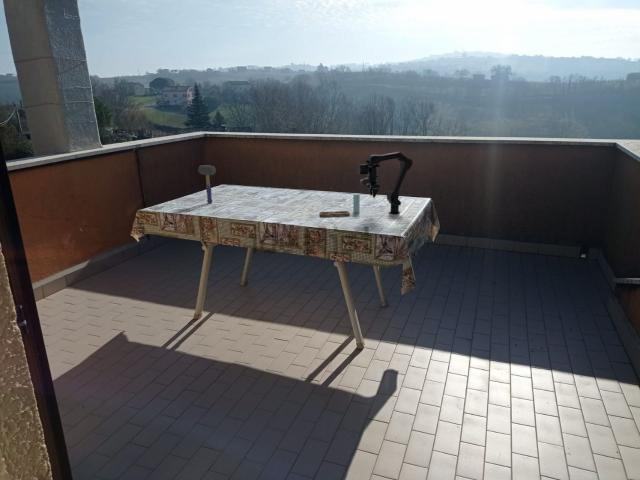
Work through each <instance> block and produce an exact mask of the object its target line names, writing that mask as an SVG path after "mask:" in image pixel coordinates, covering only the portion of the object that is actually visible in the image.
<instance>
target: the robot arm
mask: <svg viewBox="0 0 640 480" xmlns="http://www.w3.org/2000/svg"><path fill="white" fill-rule="evenodd" d="M395 159H397V160H398V161H399V162H400V164H399V168H400V169H399V171H398V175H397V177H396V179H395V182H394V184H393V187H392V189H391V190H388V192H387V194H386V195H385V196H386V201H388V203H389V204H390V211H389V212H388V214H392V215H398V214H400V213H401V211H400V210H399V209H400V206H401V205H402V201H401V200H400V199H399V197H400V189H401V187H402V184H403V182H404V180H405V177H406V175H407V173H408V171H409V170H410V169H411V167H412V166H413V164H414V163H413V162H414V161H413V160H412V158H409V157H407V156H406V155H405V154H403V153H402V152H400V151H395V152H392V153H391V152H389V153H386V154H369V155H368V156H367V160H366V161H365V163H363V164H358V166H357V170H356V171H357V174H358V175H359V176H361V175H367V177H364V178H362V179H360V180H359V182H360V184H361V186H367V187H368V191H369V195H370V196H372V199H375V198H376V196H377V194H378V192H379V190H380V189H381V185H380V184H379V183H378V177H379V176H378V168H380V167H381V165H380V164H379V163H381V162H384V161H389V160H395Z"/></svg>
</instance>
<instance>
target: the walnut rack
mask: <svg viewBox="0 0 640 480" xmlns="http://www.w3.org/2000/svg"><path fill="white" fill-rule="evenodd" d="M334 211H335V213H331V214H328V213H329V211H319V217H320V218H331V217H332V218H334V217H350V215H351V214H350V211H349V210H337V211H336V210H334Z"/></svg>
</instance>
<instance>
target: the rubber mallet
mask: <svg viewBox="0 0 640 480" xmlns="http://www.w3.org/2000/svg"><path fill="white" fill-rule="evenodd" d="M197 171H198V173H199V174H200V175H203V176H204V175H205V182H206V186H205V188H206V196H207V197H206V198H207V200H206V201H207V203H208V204H212V203H213V198H212V197H213V196H212V187H211V183H210V182H211V181H210V176H213V175H215V174H216V172H217V169H216V167H215V165H210V164H209V165H208V164H205V165H204V164H203V165H199V166H198V169H197Z"/></svg>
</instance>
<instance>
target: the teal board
mask: <svg viewBox="0 0 640 480" xmlns="http://www.w3.org/2000/svg"><path fill="white" fill-rule="evenodd" d="M352 197H353V199H352V200H353V203H352V204H353V207H352V210H353V211H352V212H353V214H358V213H359V214H360V193H353V195H352Z"/></svg>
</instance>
